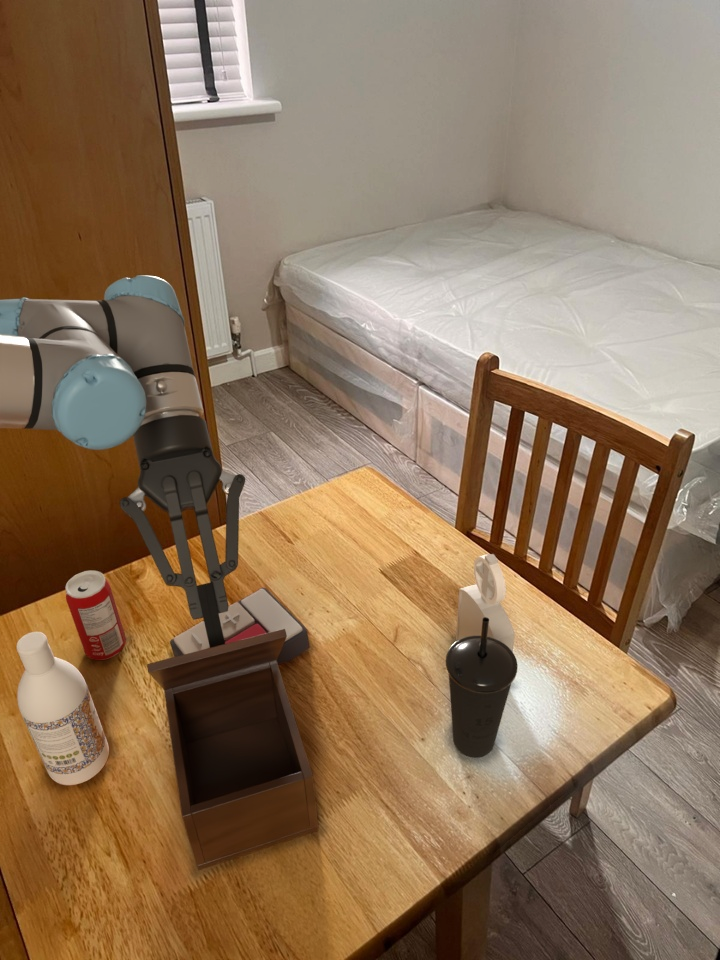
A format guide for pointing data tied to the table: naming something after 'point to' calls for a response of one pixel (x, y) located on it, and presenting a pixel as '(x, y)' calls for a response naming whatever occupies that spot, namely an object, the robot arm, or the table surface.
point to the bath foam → (59, 713)
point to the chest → (239, 764)
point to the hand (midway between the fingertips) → (218, 648)
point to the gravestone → (485, 603)
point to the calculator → (249, 626)
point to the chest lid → (217, 660)
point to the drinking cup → (478, 690)
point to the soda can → (95, 615)
